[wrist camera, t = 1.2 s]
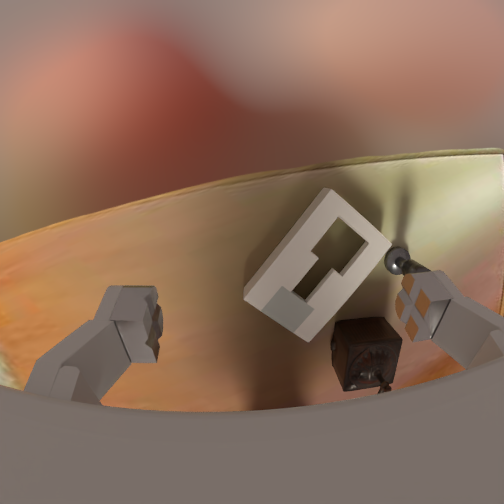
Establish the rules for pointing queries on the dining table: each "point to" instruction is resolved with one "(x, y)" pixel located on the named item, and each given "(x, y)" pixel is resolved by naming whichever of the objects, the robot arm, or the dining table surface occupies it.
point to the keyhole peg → (402, 262)
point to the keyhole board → (302, 259)
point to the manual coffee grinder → (365, 353)
